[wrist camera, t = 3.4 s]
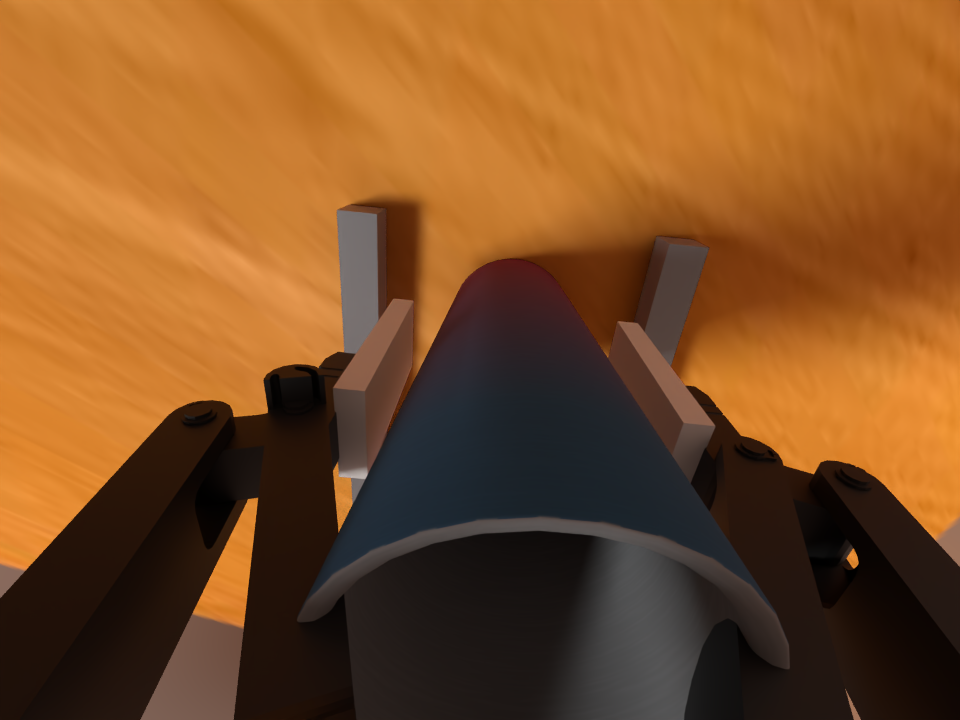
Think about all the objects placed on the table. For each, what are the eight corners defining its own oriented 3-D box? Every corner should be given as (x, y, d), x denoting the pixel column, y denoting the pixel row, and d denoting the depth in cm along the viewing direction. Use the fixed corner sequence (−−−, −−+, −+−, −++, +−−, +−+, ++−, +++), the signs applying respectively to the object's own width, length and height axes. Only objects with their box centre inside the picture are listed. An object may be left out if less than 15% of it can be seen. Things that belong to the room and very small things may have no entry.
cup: (619, 293, 19) (913, 669, 5) (527, 404, 22) (573, 838, 8) (487, 203, 17) (442, 412, 4) (406, 334, 20) (220, 720, 7)
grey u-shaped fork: (348, 204, 18) (244, 247, 10) (694, 239, 18) (826, 306, 11) (364, 583, 28) (317, 734, 21) (582, 604, 28) (610, 762, 21)
